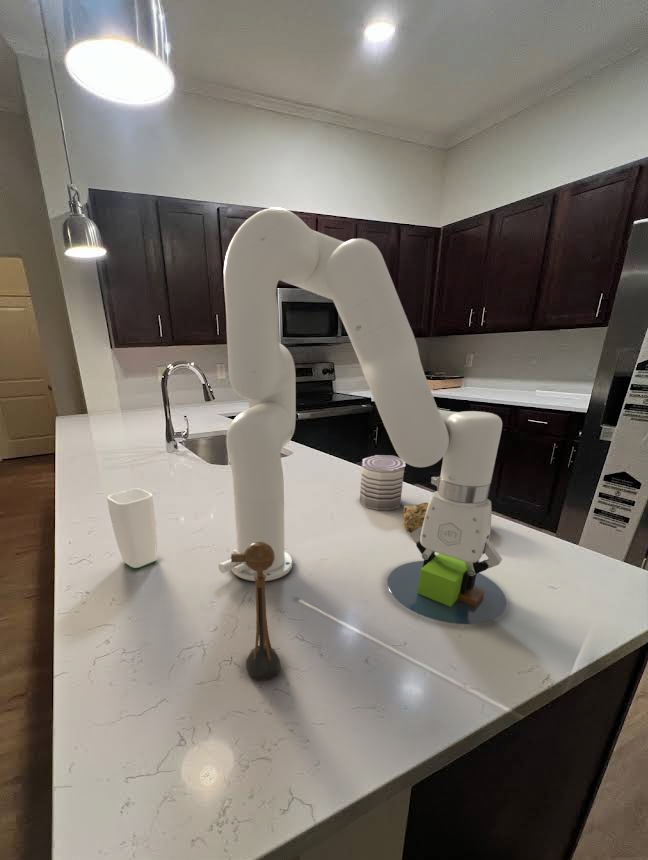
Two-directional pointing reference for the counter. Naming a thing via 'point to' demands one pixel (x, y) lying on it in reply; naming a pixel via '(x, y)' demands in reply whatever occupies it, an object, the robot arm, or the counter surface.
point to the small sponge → (442, 579)
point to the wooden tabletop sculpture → (260, 612)
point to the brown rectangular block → (471, 596)
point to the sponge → (414, 516)
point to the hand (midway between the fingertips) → (446, 582)
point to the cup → (134, 526)
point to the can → (381, 482)
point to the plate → (405, 591)
